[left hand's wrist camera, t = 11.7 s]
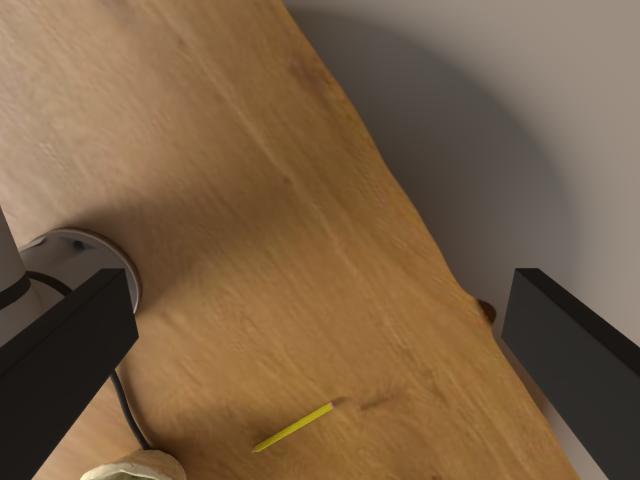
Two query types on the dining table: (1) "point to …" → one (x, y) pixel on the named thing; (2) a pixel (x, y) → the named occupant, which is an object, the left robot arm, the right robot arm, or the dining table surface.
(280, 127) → the dining table surface
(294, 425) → the pencil
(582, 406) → the left robot arm
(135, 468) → the bowl
